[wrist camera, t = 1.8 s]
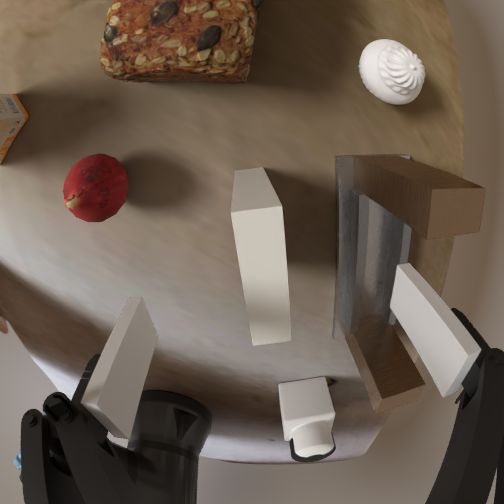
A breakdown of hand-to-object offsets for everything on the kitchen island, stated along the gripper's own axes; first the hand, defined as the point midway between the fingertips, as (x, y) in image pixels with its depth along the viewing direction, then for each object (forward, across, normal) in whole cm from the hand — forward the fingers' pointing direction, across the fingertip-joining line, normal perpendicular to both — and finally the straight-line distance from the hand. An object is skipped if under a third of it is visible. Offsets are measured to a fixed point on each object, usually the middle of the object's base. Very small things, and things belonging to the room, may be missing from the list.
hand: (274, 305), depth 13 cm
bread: (+15, +2, -22) cm, 26 cm away
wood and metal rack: (+14, -12, +6) cm, 19 cm away
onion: (+14, +13, -6) cm, 20 cm away
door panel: (+14, 0, 0) cm, 14 cm away
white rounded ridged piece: (+14, -13, -13) cm, 23 cm away
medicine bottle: (+14, -4, +29) cm, 33 cm away
